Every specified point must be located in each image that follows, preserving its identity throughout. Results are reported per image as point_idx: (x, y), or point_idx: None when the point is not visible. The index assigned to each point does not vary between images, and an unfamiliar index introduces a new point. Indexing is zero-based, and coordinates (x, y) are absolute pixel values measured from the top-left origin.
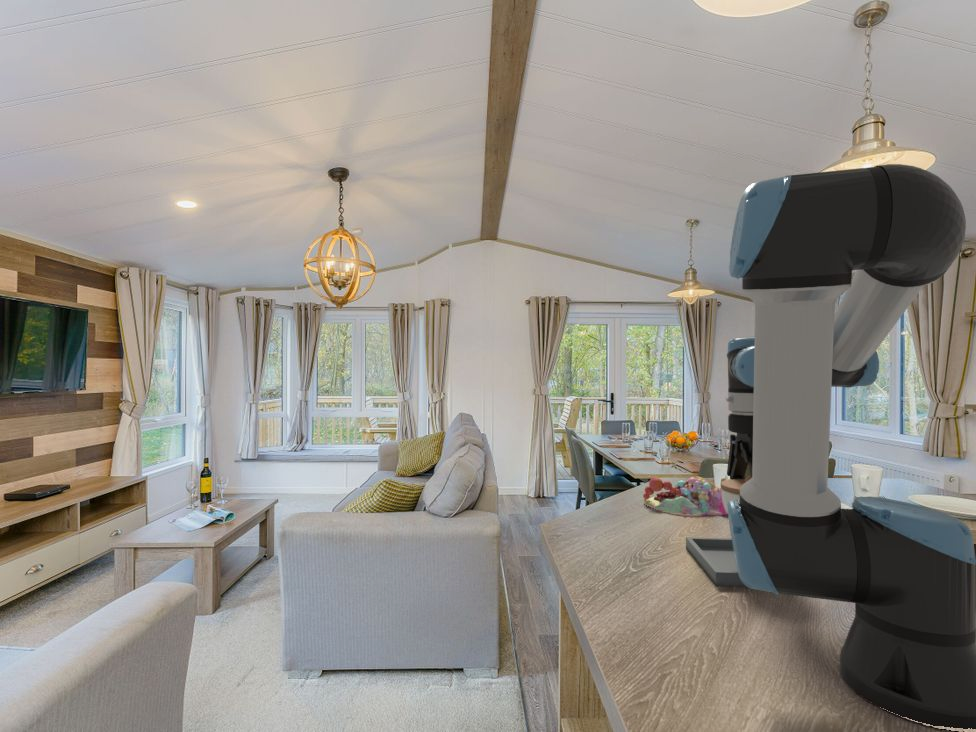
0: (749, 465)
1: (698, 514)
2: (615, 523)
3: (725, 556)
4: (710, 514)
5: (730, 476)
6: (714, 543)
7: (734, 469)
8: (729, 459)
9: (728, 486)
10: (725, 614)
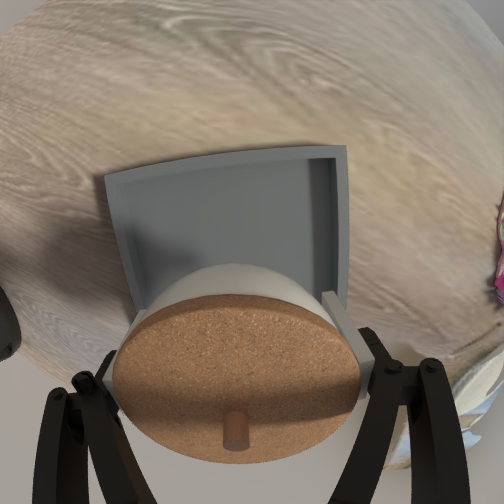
0: (122, 492)
1: (500, 234)
2: (452, 49)
3: (274, 223)
4: (500, 257)
5: (398, 371)
6: (335, 214)
7: (363, 423)
8: (448, 429)
9: (158, 329)
10: (30, 177)
